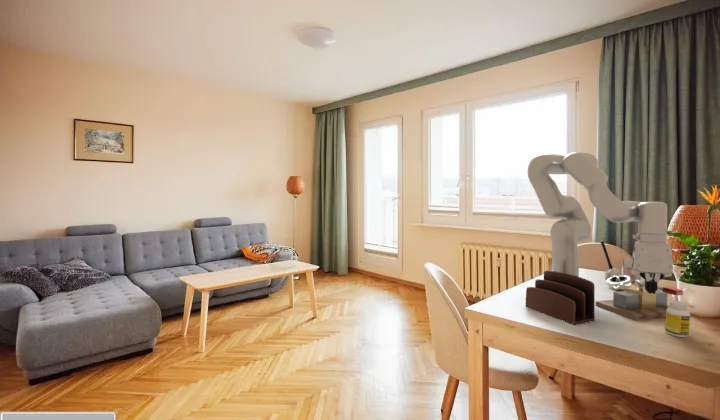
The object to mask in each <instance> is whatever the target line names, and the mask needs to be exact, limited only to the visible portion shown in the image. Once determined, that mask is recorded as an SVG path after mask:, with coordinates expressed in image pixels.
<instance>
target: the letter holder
mask: <svg viewBox="0 0 720 420" xmlns="http://www.w3.org/2000/svg"><path fill="white" fill-rule="evenodd" d="M595 289H596V287H595V284H594V282H592V281H591V280H589V279H587V278H584V277H580V276H579V277H578V276H574V275H571V274H566V273H561V272H555V271H552V270H545V271H544V272H543V279H536V280H535V282H534V287H533V286H529V287H528V286H527V287H526V290H525V308H527V307H528V308H527V309H530V308H531V310H533V311H535V310H536V311H535V312H538V311H539V312H538V313H540V314H543V313H544V315H546V316H549V317H551V316H552V317H551V318H553V319H557V320H559V319H560V320H559V321H562V320H563V321H562V322H564V321H565V323H567V322H568V324H570V325H572V324H573V326H576V324H577V325H581V323H582V324H585V322H587V323H591V322H590V321H592V322H595V319H596V318H595V317H596V316H595V313H596V312H595V308H596V307H595V306H596V300H595V299H596V298H595Z"/></svg>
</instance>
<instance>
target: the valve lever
mask: <svg viewBox="0 0 720 420" xmlns="http://www.w3.org/2000/svg"><path fill="white" fill-rule="evenodd" d="M634 284H635V286H636V285H637V286H638V285H640V286H644V287H645V280H644V279H641V280H635V282H634ZM657 290H660V291H662V292H665V293H668V294H669V295H674V296H676V297H677V296H683V294H684V289H680V288H676V287H672V286H663V285H659V284H657Z"/></svg>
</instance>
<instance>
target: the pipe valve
mask: <svg viewBox="0 0 720 420" xmlns="http://www.w3.org/2000/svg"><path fill="white" fill-rule="evenodd" d="M668 294H669V293H665V292H662V290H658V289H657V291H656V293H655V294H653V293H648V292H647V291H646V290H645V286H640V285H637V286H632V287H628V288H626V289H624V290H621V291H614V292H613V299H612V300H613V306H616V307H619V308H622V309H625V310H631V309H651V308H656V307H664V306H667V305H668V296H669V295H668Z"/></svg>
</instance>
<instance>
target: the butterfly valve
mask: <svg viewBox="0 0 720 420" xmlns="http://www.w3.org/2000/svg"><path fill="white" fill-rule="evenodd" d="M600 246H601V248H602V250H603V254H604V256H605V259H606V263H607V267H608V269H606V271H605V272H604V274H603V275H604V280H605V281H606V283H607V287H608V288H609V289H612V290H621V291H625V289H626V288H628V287H633V282H631V279H630V277H628V276H622V274H621V269H619V268H616V267H613V265H612V262H611V258H609V257H610V256H609V254H608V251H607V248H606V245H605V242H604V240H600Z"/></svg>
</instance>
